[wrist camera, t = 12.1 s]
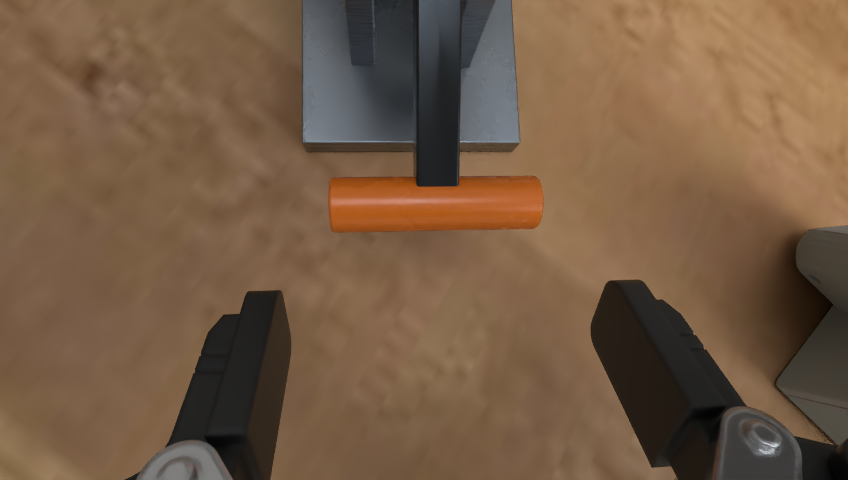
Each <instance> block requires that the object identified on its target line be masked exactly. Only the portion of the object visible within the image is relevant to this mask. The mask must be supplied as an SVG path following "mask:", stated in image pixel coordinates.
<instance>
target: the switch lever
mask: <svg viewBox="0 0 848 480" xmlns="http://www.w3.org/2000/svg"><path fill="white" fill-rule="evenodd" d="M462 1H463V0H413V137H414V177H333V178H331V180H330V183H329V219H330V226H331V229H332V231H333V232H335V233H336V232H389V231H443V230H497V229H534V228H536V227H537V226H538V225H539V223H540V221H541V218H542V213H543V191H542V186H541V183H540V181H539V179H538V178H537V177H535V176H459V155H460V104H461V53H462Z"/></svg>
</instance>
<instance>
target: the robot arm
mask: <svg viewBox="0 0 848 480" xmlns="http://www.w3.org/2000/svg"><path fill="white" fill-rule="evenodd" d="M591 339H592V343H593V345H594V348H595V350H596V352H597V354H598V356H599V358H600V360H601V362H602V364H603V367H604V369H605V371H606V373H607V375H608V377H609V379H610V381H611V383H612V385H613V387H614V390H615V392H616V394H617V396H618V398H619V400H620V402H621V404H622V406H623V408H624V410H625V413H626V415H627V417H628V419H629V421H630V423H631V425H632V427H633V429H634V431H635V433H636V436H637V438H638V440H639V442H640V444H641V446H642V448H643V450H644V452H645V454H646V456H647V458H648V461H649V463H650V465H651V467H652V468H654V467H667V466H671V467H672V468H673V470H674V472H675V474H676V478H675V479H674V480H848V438H847V439H846V440H845V441H844V442H843V443H842V444H840V445H839V446H834V445H829V444H825V443H821V442H817V441H813V440H808V439H804V438H800V437H796V436H793V435H792V434H791V433H790V431H789V430H788V429H787V428H786V427H785V426H784V425H783V424H781V423H780V422H779V421H778V420H776V419H775V418H773V417H772V416H770V415H768V414H766V413H764V412H762V411H760V410H757V409H754V408H750V407H747V406H746V404H745V403H744V402H743V400H742V399H741V398H740V396H739V395H738V393H737V392H736V391H735V389H734V388H733V386H732V385H731V384H730V382H729V381H728V379H727V378H726V377H725V375H724V374H723V372H722V371H721V370H720V368H719V367H718V365H717V364H716V363H715V361H714V360H713V358H712V357H711V356H710V354H709V353H708V351H707V350H704V348H703V344H702V343H701V342H700V340H699V339H698V337H697V336H696V335H694V334H693V330H692V329H691V328H690V326H689V325H688V323H687V322H686V321H685V319H684V318H683V316H682V315H681V314H680V313H679V312H677V311H676V310H675V309H674V308H672V307H671V306H670V305H669V304H667V303H666V302H665V301H664V300H656V299H655V297H654V296H653V294H652V293H651V291H650V290H649V289H648V287H647V286H646V284H645V283H644V282H643V281H641V280H612V281H608V282H607V283H606V285H605V287H604V290H603V292H602V295H601V298H600V300H599V303H598V306H597V308H596V311H595V314H594V316H593V319H592V322H591ZM290 356H291V335H290V329H289V324H288V319H287V314H286V309H285V303H284V298H283V294H282V292H281V290H273V291H248V292H247V293H246V295H245V298H244V302H243V305H242V308H241V312H240V314H228V315H223V316H222V317H221V318H220V320H219V321H218V322H217V323H216V324H215V325H214V326H213V327H212V329H211V330H210V331H209V332H208V334H207V337H206V340H205V343H204V346H203V348H202V351H201V356H200V357H199V360H198V362H197V365H196V368H195V373H194V374H193V376H192V379H191V382H190V385H189V388H188V390H187V393H186V396H185V399H184V402H183V404H182V407H181V410H180V413H179V416H178V418H177V421H176V424H175V427H174V430H173V432H172V435H171V437H170V440H169V442H168V443H167V445H166V447H165V448H164V449H163V450H161V451H160V452H158V453H157V454H156V455H155V456H153V457H152V458H151V459H150V460H149V461H148V462H147V464H146V465H145V466H144V467H143V469H142V470H141V471H140V472H139V473H137V474H135V475H133V476H132V477H130V478H127V479H125V480H270V477H271V471H272V465H273V459H274V453H275V447H276V441H277V435H278V429H279V423H280V417H281V411H282V405H283V399H284V393H285V387H286V381H287V375H288V369H289V363H290Z"/></svg>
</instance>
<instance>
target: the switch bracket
mask: <svg viewBox="0 0 848 480" xmlns="http://www.w3.org/2000/svg"><path fill="white" fill-rule="evenodd" d="M302 143H303V145H304V147H305V149H306V151H307V152H414V137H413V0H302ZM519 143H520V130H519V114H518V97H517V81H516V65H515V48H514V32H513V15H512V0H463V1H462V53H461V104H460V151H513V150H514V149H515V148H516V147H517V146H518V144H519Z"/></svg>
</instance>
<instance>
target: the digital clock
mask: <svg viewBox="0 0 848 480" xmlns="http://www.w3.org/2000/svg"><path fill="white" fill-rule="evenodd" d="M796 265H797V268H798V269H799V271H800V272H801V273H802V274H803V275H804V276H805V277H806V278H807V279H808V280H809V281H810V282H811V283H812V284H813V285H814V286H815V287H816V288H817V289H818V290H819V291H820V292H821V293H822V294H823V295H824V296H825V297H826V298H827V299H828V300H829V301H831V302H832V303H833V304H834V305H833V306H832V307H831V309H830V310H829V311H828V313H827V314H826V315H825V317H824V318H823V319H822V321H821V322H820V324H819V325H818V326H817V327H816V329H815V330H814V331H813V333H812V334H811V335H810V337H809V338H808V339H807V341H806V342H805V343H804V345H803V346H802V347H801V349H800V350H799V351H798V353H797V354H796V355H795V356H794V358H793V359H792V360H791V362H790V363H789V364H788V366H787V367H786V368H785V370H784V371H783V372H782V374H781V375H780V377H779V378H778V380H777V382H776V385H777V387H778V388H779V389H780V390H781V391H782V392H783V393H784V394H785V395H786V396H787V397H788V398H789V399H790V400H791V401H792V402H793V403H794V404H795V405H796V406H798V407H799V408H800V409H801V410H802V411H803V412H804V413H805V414H806V415H807V416H808V417H809V418H810V419H811V420H812V421H813V422H814V423H815V424H816V425H817V426H818V427H819V428H820V429H821V430H823V431H824V432H825V433H826V434H827V435H828V436H829V437H830V438H831V439H832V440H833V441H834V442H835V443H836V444H837V445H838V446H839V445H840V444H842V443H843V442H844V441H845V440H846V439H847V438H848V226H834V227H824V228H816V229H811V230H808V232H806V233H805V234H804V235H803V236H802V237H801V239H800V241H799V243H798V245H797V250H796Z"/></svg>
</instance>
